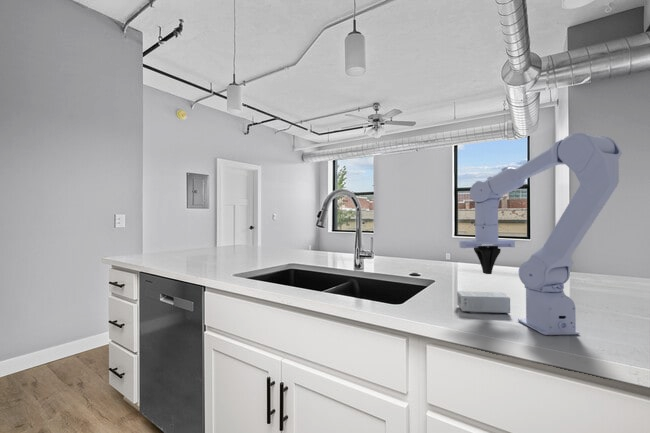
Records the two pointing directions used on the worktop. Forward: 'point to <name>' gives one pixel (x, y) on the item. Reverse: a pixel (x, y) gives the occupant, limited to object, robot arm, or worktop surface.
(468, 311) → the mat
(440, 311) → the worktop surface
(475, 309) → the skincare box
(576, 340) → the worktop surface
